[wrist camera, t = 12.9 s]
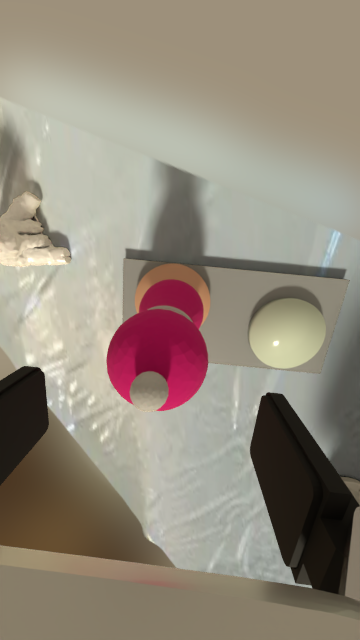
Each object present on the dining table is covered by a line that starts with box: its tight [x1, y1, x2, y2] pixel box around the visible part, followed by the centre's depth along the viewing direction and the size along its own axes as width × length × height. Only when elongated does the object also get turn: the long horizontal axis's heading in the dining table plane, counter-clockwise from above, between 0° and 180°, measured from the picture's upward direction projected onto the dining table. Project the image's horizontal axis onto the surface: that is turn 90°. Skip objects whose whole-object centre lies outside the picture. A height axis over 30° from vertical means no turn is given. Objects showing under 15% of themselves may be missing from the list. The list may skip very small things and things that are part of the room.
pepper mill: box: [107, 279, 208, 412], centre depth 18 cm, size 7×7×20 cm
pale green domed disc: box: [248, 297, 326, 368], centre depth 30 cm, size 10×10×2 cm
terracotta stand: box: [135, 263, 210, 325], centre depth 29 cm, size 10×10×2 cm
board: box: [123, 258, 350, 374], centre depth 31 cm, size 30×14×1 cm, turn 85°
